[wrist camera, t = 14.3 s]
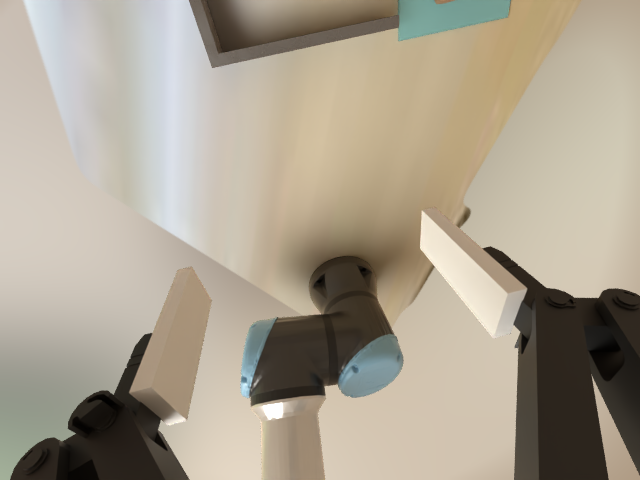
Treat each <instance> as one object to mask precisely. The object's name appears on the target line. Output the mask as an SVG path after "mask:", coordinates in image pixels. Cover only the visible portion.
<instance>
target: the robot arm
mask: <svg viewBox="0 0 640 480" xmlns="http://www.w3.org/2000/svg"><path fill="white" fill-rule="evenodd" d="M420 249H421V250H422V251H423V253H424V254H425V255H426V256H427V257H428V259H429V260H430V261H431V262H432V264H433V265H434V266H435V267H436V268H437V270H438V271H439V272H440V273H441V275H442V276H443V277H444V278H445V280H447V282H448V283H449V284H450V286H451V287H452V288H453V289H454V291H455V292H456V293H457V294H458V295H459V297H460V298H461V299H462V300H463V301H464V303H465V304H466V305H467V307H468V308H469V309H470V310H471V311H472V313H473V314H474V315H475V316H476V317H477V319H478V320H479V321H480V322H481V324H482V325H483V326H484V327H485V329H486V330H487V331H488V332H489V334H490V335H491V336H492V337H493V338H496V337H500V336H504V335H508V334H511V331H512V328H513V325H515V327H516V328H517V329H518V330H519V331H520V335H519V337H518V340H517V342H516V345H515V348H519V349H518V350H519V351H518V380H517V410H516V412H517V413H516V443H515V473H514V480H609V479H608V473H607V467H606V461H605V455H604V449H603V443H602V437H601V431H600V424H599V418H598V412H597V406H596V400H595V394H594V388H593V381H592V376H593V378H594V381H595V382H596V385H597V387H598V389H599V391H600V393H601V395H602V397H603V399H604V401H605V404H606V405H607V408H608V410H609V412H610V414H611V416H612V418H613V420H614V422H615V424H616V427H617V429H618V431H619V432H620V435H621V437H622V439H623V441H624V443H625V445H626V448H627V450H628V451H629V454H630V456H631V458H632V460H633V462H634V464H635V466H636V468H637V471H638V472H639V475H640V296H639V295H637V294H636V293H632V292H630V291H627V290H622V289H607V290H604V291H603V292H602V293H601V295H600V297H599V298H574V297H573V296H571V295H569V294H568V293H566V292H563V291H560V290H557V289H550V288H546V287H544V286H543V285H542V284H541V283H540V282H538V281H537V280H536V279H535V278H533V277H532V276H531V275H530V274H528V273H527V272H526V271H525V270H524V269H522V268H521V267H520V266H518V264H516V263H515V262H514V261H513V260H511V259H510V258H509V257H508V256H507V255H505V254H504V253H503V252H502V251H499V250H497V249H495V248H492V247H486V248H481V247H480V246H479V245H477V244H476V243H475V242H474V241H473V240H472V239H471V238H470V237H468V236H467V235H466V234H465V233H464V232H463V231H461V229H459V228H458V227H457V226H456V225H455V224H454V223H453V222H451V221H450V220H449V219H448V218H447V217H446V216H445V215H443V214H442V213H441V212H440V211H439V210H438V209H437V208H436V207H432V208H428V209H424V210H422V219H421V240H420ZM309 291H310V296H311V299H312V301H313V303H314V304H315V306H316V307H317V309H318V310H319V311H320V313H321V315H320V314H319V315H308V316H297V317H286V318H278V317H275V318H273V319H267V320H260V321H257V322H255V323H253V324H252V326H251V327H250V329H249V331H248V334H247V338H246V342H245V348H244V353H243V360H242V369H241V375H242V376H241V394H242V396H244V397H246V398H250V397H251V411H252V412H253V413H254V414H255V415H256V416H257V417H258V418H259V419H260V421H261V452H262V453H261V457H262V458H261V460H262V462H261V463H262V480H325V475H324V466H323V456H322V447H321V439H320V429H319V421H318V411H319V408H320V407H321V406H322V404H323V402H324V401H325V399H326V397H325V388H324V386H330V385H336V384H337V385H338V387H339V389H340V390H341V392H342V393H343V394H344V395H345V396H350V397H353V398H356V397H363V396H366V395H370V394H372V393H375V392H377V391H379V390H381V389H383V388H384V387H386V386H387V385H388V384H390V383H391V382H392V381H393V380H394V379H395V378H396V377H397V376H398V374H399V373H400V371H401V369H402V366H403V355H402V352H401V349H400V347H399V344H398V340H397V337H396V336H395V335H394V333H393V331H392V329H391V326H390V324H389V322H388V320H387V318H386V316H385V314H384V312H383V310H382V308H381V306H380V304H379V302H378V299H377V282H376V277H375V274H374V272H373V270H372V268H371V267H370V265H369V264H368V263H367V262H365V261H364V260H362V259H359V258H356V257H339V258H335V259H332V260H330V261H328V262H326V263H324V264H323V265H321V266H320V267H319V268H318V269H317V270H316V271H315V272H314V273H313V275H312V277H311V279H310V282H309ZM211 302H212V300H211V298H210V297H209V295H208V293H207V292H206V290H205V288H204V286H203V285H202V283H201V281H200V280H199V278H198V276H197V275H196V273H195V271H194V270H193V268H192V267H188V268H183V269H179V270H178V271H177V273H176V275H175V278H174V281H173V283H172V286H171V288H170V291H169V293H168V296H167V298H166V301H165V303H164V306H163V308H162V311H161V313H160V316H159V318H158V321H157V323H156V326H155V328H154V331H153V333H150V334H146V335H144V336H143V337H142V338H141V339H140V341H139V342H138V343H137V344H136V346H135V348H134V350H133V353H132V355H131V359H129V362H128V364H127V368H125V370H124V373H123V375H122V377H121V380H120V382H119V384H118V387H117V389H116V391H115V393H114V395H113V394H111V393H110V392H109V391H99V392H96V393H94V394H92V395H90V396H89V397H87V398H86V399H85V400H84V401H83V402H82V403H80V404H79V405H78V406H77V408H76V409H75V410H74V412H73V413H72V415H71V417H70V419H69V421H68V429H69V430H71V431H73V432H75V433H76V434H75V435H73V436H71V437H70V438H68V439H66V440H64V441H60V440H58V439H56V438H47V439H45V440H43V441H41V442H39V443H37V444H36V445H35V446H34V447H32V448H31V449H30V450H29V451H28V452H27V453H26V454H25V455H24V456H23V457H22V458H21V459H20V461H19V462H18V464H17V465H16V467H15V468H14V471H13V473H12V476H11V479H10V480H189V478H188V477H187V475H186V473H185V471H184V470H183V468H182V466H181V465H180V463H179V461H178V460H177V458H176V457H175V455H174V453H173V451H172V450H171V448H170V446H169V445H168V443H167V441H166V440H165V438H164V436H163V435H162V433H161V432H160V431H158V427H159V424H160V420H162V421H163V422H164V423H165V424H167V425H168V426H169V425H172V424H176V423H180V422H184V421H187V418H188V412H189V408H190V403H191V398H192V393H193V389H194V384H195V379H196V374H197V370H198V365H199V360H200V355H201V350H202V345H203V341H204V336H205V331H206V326H207V322H208V317H209V311H210V307H211ZM518 346H519V347H518ZM591 374H592V375H591Z"/></svg>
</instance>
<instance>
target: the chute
mask: <svg viewBox="0 0 640 480" xmlns="http://www.w3.org/2000/svg"><path fill="white" fill-rule="evenodd" d="M189 2H190V5H191V8H192V11H193V14H194V16H195V19H196V22H197V25H198V28H199V31H200V34H201V37H202V40H203V43H204V45H205V48H206V51H207V54H208V57H209V60H210V63H211V66H212V68H214V67H219V66H224V65H228V64H233V63H237V62H242V61H247V60H251V59H256V58H260V57H265V56H270V55H274V54H279V53H283V52H288V51H293V50H297V49H302V48H306V47H311V46H316V45H320V44H325V43H330V42H334V41H339V40H343V39H348V38H353V37H357V36H362V35H366V34H371V33H376V32H380V31H385V30H389V29H394V28H399V15H396V16H392V17H387V18H382V19H378V20H373V21H368V22H364V23H359V24H354V25H350V26H345V27H341V28H336V29H331V30H327V31H322V32H317V33H313V34H308V35H303V36H299V37H294V38H289V39H285V40H280V41H275V42H271V43H266V44H261V45H257V46H252V47H248V48H243V49H238V50H234V51H229V52H224V53H223V51H222V48H221V45H220V42H219V39H218V35H217V32H216V29H215V26H214V23H213V20H212V17H211V13H210V10H209V7H208V4H207V1H206V0H189Z"/></svg>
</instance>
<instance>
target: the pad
mask: <svg viewBox="0 0 640 480" xmlns="http://www.w3.org/2000/svg"><path fill="white" fill-rule="evenodd" d="M510 1H511V0H455V1H451V2H448V3H444V4H436V3H435V1H434V0H398V15H399V28H398V35H399V41H402V40H406V39H411V38H415V37H420V36H425V35H429V34H434V33H438V32H443V31H447V30H452V29H456V28H461V27H466V26H470V25H475V24H479V23H484V22H488V21H493V20H498V19H502V18H507V17H508V13H509V7H510Z"/></svg>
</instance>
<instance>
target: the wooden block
mask: <svg viewBox="0 0 640 480" xmlns="http://www.w3.org/2000/svg"><path fill="white" fill-rule="evenodd" d="M434 1H435V3H436V4H444V3H448V2H451V1H455V0H434Z"/></svg>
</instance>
